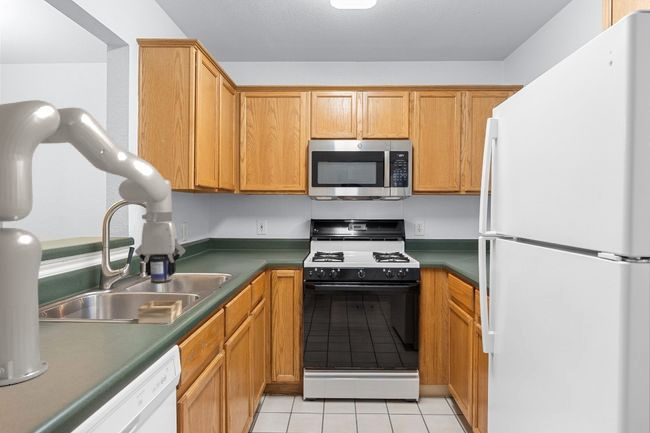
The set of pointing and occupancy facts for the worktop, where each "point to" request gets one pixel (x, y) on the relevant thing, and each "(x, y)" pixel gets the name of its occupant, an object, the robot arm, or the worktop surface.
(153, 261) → the pill bottle
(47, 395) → the worktop surface
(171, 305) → the wooden tray
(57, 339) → the worktop surface
